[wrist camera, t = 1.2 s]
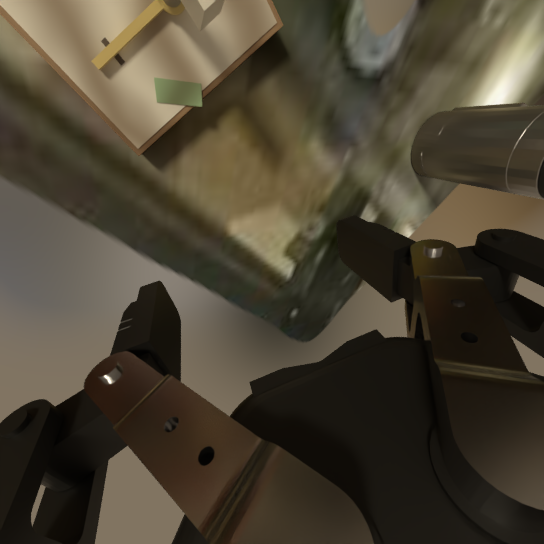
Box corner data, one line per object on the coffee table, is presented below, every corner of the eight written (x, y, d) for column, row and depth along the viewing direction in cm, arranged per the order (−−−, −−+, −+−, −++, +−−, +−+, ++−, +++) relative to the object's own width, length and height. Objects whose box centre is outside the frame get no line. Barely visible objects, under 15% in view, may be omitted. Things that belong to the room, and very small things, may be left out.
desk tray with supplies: (178, -169, 20) (178, -206, 18) (278, 38, 28) (286, 30, 26) (3, 10, 22) (-18, -4, 19) (145, 158, 30) (142, 160, 27)
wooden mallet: (143, -80, 20) (114, -244, 11) (213, 36, 24) (232, -16, 16) (49, 13, 21) (-46, -71, 12) (134, 109, 25) (110, 99, 16)
